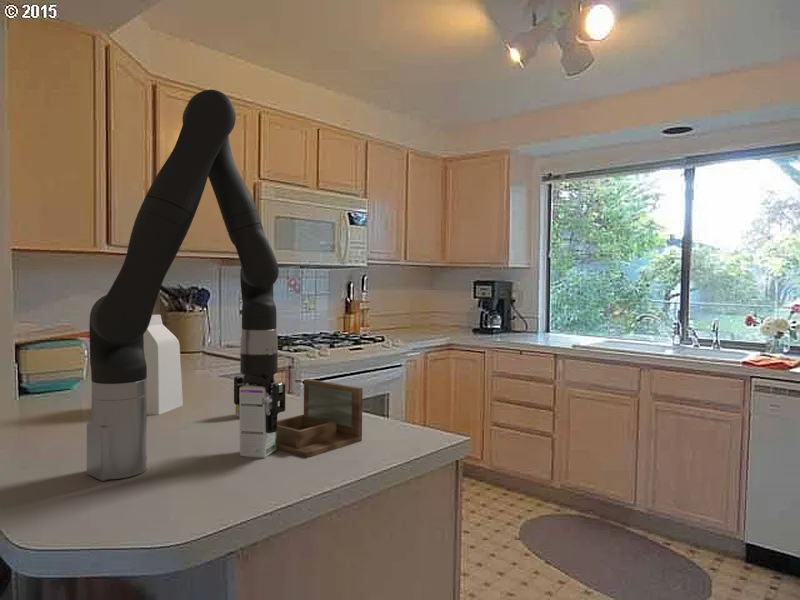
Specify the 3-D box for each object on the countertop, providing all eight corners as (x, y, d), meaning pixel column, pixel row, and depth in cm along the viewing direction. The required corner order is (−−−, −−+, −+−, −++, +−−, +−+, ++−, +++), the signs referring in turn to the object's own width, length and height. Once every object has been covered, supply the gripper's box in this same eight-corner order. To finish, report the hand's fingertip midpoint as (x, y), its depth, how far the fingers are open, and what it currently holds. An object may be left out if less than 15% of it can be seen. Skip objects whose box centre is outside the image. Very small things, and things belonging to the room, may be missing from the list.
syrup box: (265, 458, 116) (266, 387, 115) (238, 456, 117) (239, 385, 117) (277, 450, 122) (277, 382, 121) (251, 448, 123) (251, 381, 122)
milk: (158, 414, 152) (159, 316, 151) (119, 412, 154) (119, 315, 153) (182, 405, 164) (183, 314, 163) (145, 403, 165) (146, 313, 165)
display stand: (307, 457, 117) (307, 399, 116) (251, 441, 128) (252, 388, 127) (361, 440, 130) (362, 388, 130) (307, 427, 141) (307, 378, 141)
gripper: (222, 349, 120) (222, 427, 121) (267, 355, 111) (266, 439, 112) (252, 346, 126) (251, 420, 127) (296, 352, 117) (295, 431, 118)
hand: (258, 429), depth 119 cm, fingers open, 7 cm apart
